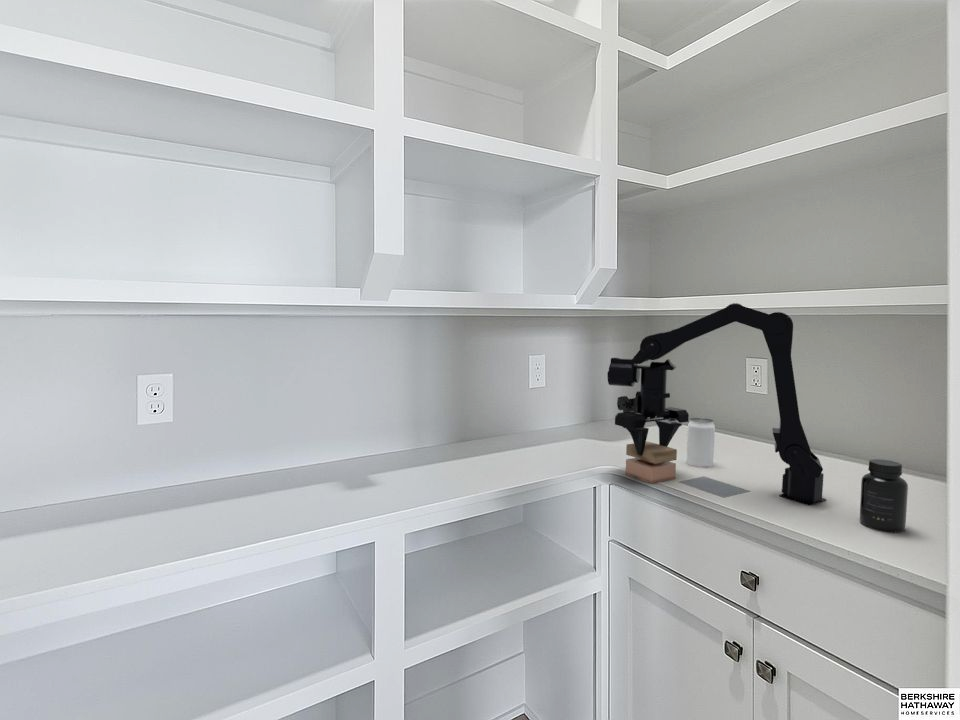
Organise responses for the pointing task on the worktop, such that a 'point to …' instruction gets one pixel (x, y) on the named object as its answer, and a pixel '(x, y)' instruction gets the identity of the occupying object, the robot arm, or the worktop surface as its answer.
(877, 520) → the supplement bottle
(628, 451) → the lid
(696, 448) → the can
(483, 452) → the worktop surface
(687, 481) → the mat
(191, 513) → the worktop surface
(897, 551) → the worktop surface
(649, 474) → the pink square box
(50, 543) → the worktop surface
